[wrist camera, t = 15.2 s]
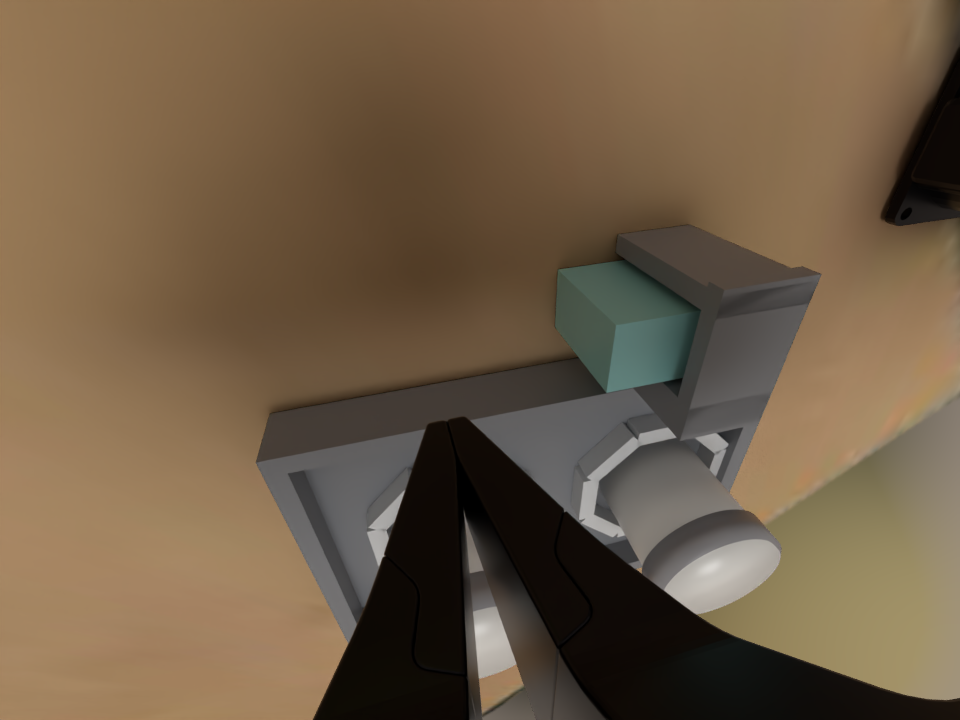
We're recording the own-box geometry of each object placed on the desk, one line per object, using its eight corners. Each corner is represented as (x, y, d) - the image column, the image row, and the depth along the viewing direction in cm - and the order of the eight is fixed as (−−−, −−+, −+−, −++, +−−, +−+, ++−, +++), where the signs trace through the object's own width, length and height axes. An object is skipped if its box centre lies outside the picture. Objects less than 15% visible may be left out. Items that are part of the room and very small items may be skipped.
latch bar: (699, 249, 17) (793, 295, 13) (685, 305, 18) (767, 361, 14) (557, 269, 16) (616, 325, 12) (555, 327, 17) (606, 392, 14)
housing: (781, 208, 17) (938, 254, 12) (678, 514, 27) (740, 599, 23) (212, 283, 13) (132, 386, 9) (351, 597, 24) (348, 716, 20)
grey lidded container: (607, 437, 20) (684, 554, 15) (706, 425, 21) (809, 530, 16) (586, 510, 23) (645, 628, 18) (674, 496, 24) (752, 603, 19)
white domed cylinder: (507, 463, 19) (555, 592, 14) (509, 533, 22) (550, 659, 17) (388, 489, 18) (396, 635, 14) (407, 558, 21) (420, 698, 17)
